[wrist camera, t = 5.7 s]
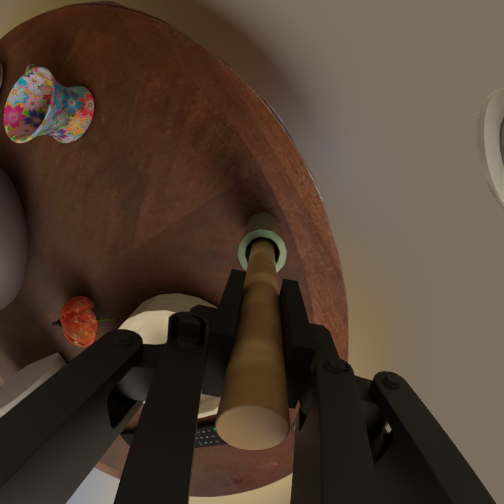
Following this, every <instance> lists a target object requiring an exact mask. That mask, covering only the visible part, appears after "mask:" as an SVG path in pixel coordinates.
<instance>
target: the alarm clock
mask: <svg viewBox="0 0 504 504" xmlns="http://www.w3.org/2000/svg"><path fill="white" fill-rule="evenodd" d="M65 365H66V362H65V361H64V359H63V358H62V356H61V355H60V354H59V353H55V354H53V355H51V356H48V357H46V358H43V359H41V360H38V361H36V362H34V363H31V364H29V365H27V366H26V367H24V368H23V369H21V370H20V371H19V372H17V373H16V374H15V375H13V376H12V377H11V378H10V379H9V380H7V381H6V382H5V383H4V384H3V385H2V386H1V387H0V418H1V417H2V416H3V415H4V414H5V413H7V412H8V411H9V410H10V409H11V408H13V407H14V406H15V405H16V404H18V403H19V402H20V401H21V400H22V399H24V398H25V397H26V396H27V395H29V394H30V393H31V392H32V391H34V390H35V389H36V388H37V387H39V386H40V385H41V384H42V383H44V382H45V381H46V380H47V379H49V378H50V377H51V376H52V375H54V374H55V373H56V372H57V371H59V370H60V369H61V368H62V367H64V366H65Z"/></svg>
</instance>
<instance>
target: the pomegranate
mask: <svg viewBox="0 0 504 504" xmlns="http://www.w3.org/2000/svg"><path fill="white" fill-rule="evenodd" d="M100 321H115V319H106V318H103V319H96V316H95V312H94V304H93V302H92V300H91V299H90V298H88V297H84V296H76V297H73V298H71V299H70V300H68V301H67V302H66V303H65V304H64V306H63V308H62V310H61V317H60V319H59V320H58V321H57V322H53V323H52V325H58V326H60V327H62V328H63V330H64V335H65V336H66V338H67V339H68V340H69V341H70V342H71V343H72V344H73V345H74V346H77V347H87V346H89V345H91V344H92V343H93V342H94V341H95V340H96V338H97V329H98V323H97V322H100Z"/></svg>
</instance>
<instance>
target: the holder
mask: <svg viewBox="0 0 504 504" xmlns="http://www.w3.org/2000/svg"><path fill="white" fill-rule="evenodd" d="M258 237H266V238H270V239H272V240H273V244H274V253H275V262H276V272H278V271H279V270H280V269H281V268H282V267H283V266H284V264H285V261H286V256H287V249H286V245H285V242H284V238H283V235H282V231H281V228H280V225H279V222H278V220H277V219H276V218H275V217H274V216H273V215H271V214H269V213H258V214H256V215H254V216H253V217H252V218H251V219H250V220H249V221H248V223H247V226H246V228H245V231H244V233H243V236H242V239H241V241H240V244H239V249H238V258H239V261H240V264H241V266H242V268H244V269H245V270H247V266H248V261H249V256H250V251H251V246H252V242H253V239H255V238H258Z"/></svg>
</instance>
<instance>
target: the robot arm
mask: <svg viewBox="0 0 504 504" xmlns="http://www.w3.org/2000/svg"><path fill="white" fill-rule="evenodd" d="M500 151H501V157H502V162H503V165H504V118H503V120H502V123H501V128H500ZM245 278H246V272H244V271H239V270H234V269H232V271H231V274H230V276H229V279H228V282H227V285H226V287H225V290H224V293H223V296H222V299H221V301H220V304H219V307H218V308H214V307H209V306H205V305H200V304H198V305H196V306H194V307H192V308H191V309H190V311H189V312H185V311H184V312H176V313H174V314H172V315H171V316H170V317H169V319H168V334H167V341H166V343H164V344H143V339H142V337H141V336H140V335H139V334H138V333H136V332H134V331H131V330H127V329H116V330H112V331H110V332H108V333H106V334H105V335H104V336H102V337H101V338H100V339H98V340H97V341H96V342H94V343H93V344H92V345H91V346H89V347H88V348H87V349H85V350H84V351H83V352H82V353H80V354H79V355H78V356H76V357H75V358H74V359H73V360H71V361H70V362H69V363H68V364H66V365H65V366H64V367H62V368H61V369H60V370H59V371H57V372H56V373H55V374H54V375H52V376H51V377H50V378H49V379H47V380H46V381H45V382H44V383H42V384H41V385H40V386H39V387H37V388H36V389H35V390H34V391H32V392H31V393H30V394H29V395H27V396H26V397H25V398H24V399H22V400H21V401H20V402H19V403H18V404H16V405H15V406H14V407H13V408H11V409H10V410H9V411H8V412H7V413H5V414H4V415H3V416H2V417H1V418H0V504H65V503H66V502H67V501H68V500H69V498H70V497H71V496H72V495H73V493H74V492H75V491H76V489H77V488H78V487H79V486H80V484H81V483H82V482H83V480H84V479H85V478H86V477H87V475H88V474H89V473H90V471H91V470H92V469H93V468H94V466H95V465H96V464H97V462H98V461H99V460H100V459H101V457H102V456H103V455H104V453H105V452H106V451H107V450H108V448H109V447H110V446H111V444H112V443H113V442H114V441H115V439H116V438H117V437H118V435H119V434H120V433H121V431H122V430H123V429H124V428H125V426H126V425H127V424H128V422H129V421H130V420H131V418H132V417H133V416H134V415H135V413H136V412H137V411H138V409H139V408H140V407H141V405H142V404H143V402H144V401H145V403H144V406H143V409H142V412H141V415H140V418H139V421H138V424H137V427H136V431H135V434H134V437H133V440H132V443H131V446H130V449H129V453H128V456H127V459H126V462H125V466H124V469H123V473H122V476H121V479H120V483H119V486H118V490H117V493H116V497H115V501H114V504H189V495H190V485H191V475H192V466H193V456H194V448H195V439H196V430H197V422H198V414H199V406H200V398H201V391H202V394H205V395H209V396H214V397H220V396H221V391H222V386H223V381H224V377H225V372H226V368H227V365H228V363H229V359H230V354H231V349H232V344H233V339H234V334H235V329H236V324H237V319H238V314H239V309H240V304H241V299H242V294H243V289H244V283H245ZM279 302H280V313H281V323H282V334H283V345H284V357H285V368H286V380H287V392H288V405H289V408H294V409H295V407H296V405H297V402H298V399H299V402H300V408H299V410H298V413H297V415H296V418H295V420H294V423H293V425H292V428H291V431H294V428H295V427H296V428H295V447H294V463H293V477H292V491H291V502H290V504H496V503H495V501H494V500H493V498H492V497H491V495H490V494H489V492H488V491H487V489H486V488H485V487H484V485H483V484H482V482H481V481H480V479H479V478H478V477H477V475H476V474H475V472H474V471H473V469H472V468H471V467H470V465H469V464H468V462H467V461H466V460H465V458H464V457H463V456H462V454H461V453H460V451H459V450H458V449H457V447H456V446H455V445H454V443H453V442H452V440H450V438H449V436H448V435H447V434H446V432H445V431H444V430H443V428H442V427H441V426H440V424H439V423H438V422H437V421H436V419H435V418H434V417H433V415H432V414H431V413H430V411H429V410H428V409H427V407H426V406H425V405H424V403H423V402H422V401H421V400H420V398H419V397H418V396H417V394H416V393H415V392H414V391H413V389H412V388H411V387H410V386H409V384H408V383H407V382H406V381H405V380H404V379H403V378H402V377H401V376H399V375H397V374H396V373H393V372H386V371H382V372H378V373H377V374H376V375H375V376H374V379H373V381H372V380H368V379H365V378H361V377H358V376H355V375H354V372H353V369H352V367H351V365H349V364H348V363H347V362H346V361H344V360H342V359H340V358H339V355H338V353H337V350H336V347H335V345H334V342H333V339H332V336H331V334H330V331H329V330H327V329H326V328H325V327H324V326H323V325H317V324H310V323H309V321H308V317H307V313H306V310H305V306H304V303H303V299H302V295H301V292H300V288H299V285H298V281H294V280H288V279H283V282H282V287H281V291H280V295H279ZM387 424H389V425H390V427H391V429H392V430H391V431H390V432H389V433H388V432H387V431H386V429H385V427H386V426H387Z"/></svg>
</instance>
